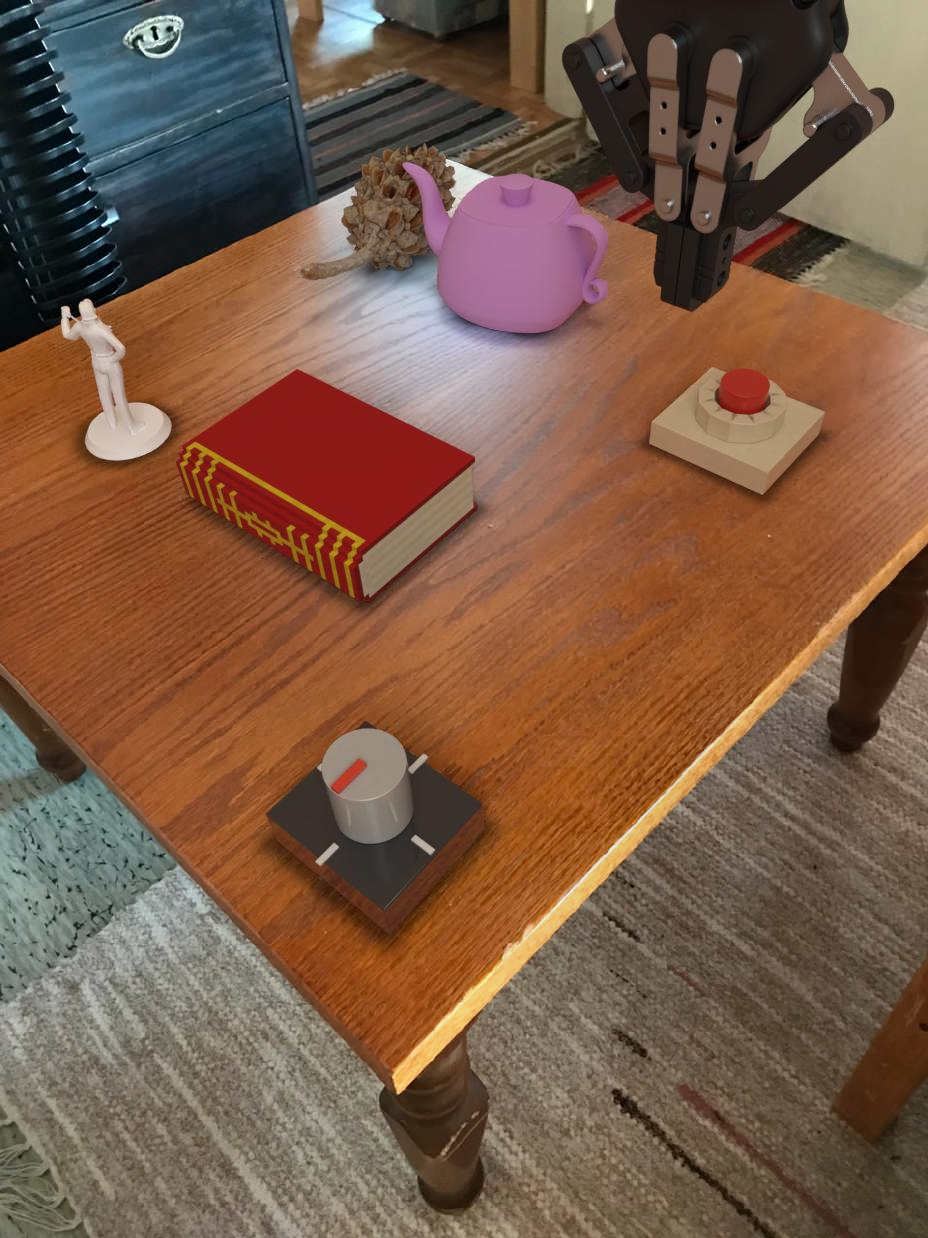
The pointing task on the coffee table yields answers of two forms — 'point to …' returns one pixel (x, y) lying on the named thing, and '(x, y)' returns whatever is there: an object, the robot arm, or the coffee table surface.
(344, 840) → the panel
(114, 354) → the figurine
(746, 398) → the button
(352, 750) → the burner knob
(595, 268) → the teapot
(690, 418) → the block
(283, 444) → the book
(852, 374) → the coffee table surface
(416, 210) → the pine cone
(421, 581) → the coffee table surface
